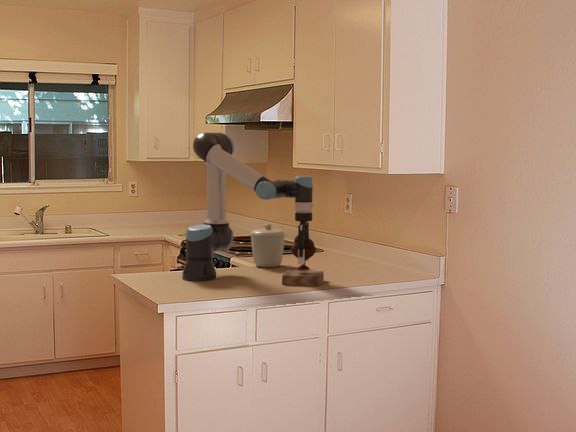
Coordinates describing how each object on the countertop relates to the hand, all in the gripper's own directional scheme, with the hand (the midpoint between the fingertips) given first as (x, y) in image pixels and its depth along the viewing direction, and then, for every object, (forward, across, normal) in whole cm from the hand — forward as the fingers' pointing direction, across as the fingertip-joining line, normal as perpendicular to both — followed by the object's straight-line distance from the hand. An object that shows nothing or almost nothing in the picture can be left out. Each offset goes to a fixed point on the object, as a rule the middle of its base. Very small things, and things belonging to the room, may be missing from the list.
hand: (303, 262), depth 334 cm
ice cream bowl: (+3, 0, 0) cm, 3 cm away
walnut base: (+9, 0, 0) cm, 9 cm away
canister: (+9, +41, +24) cm, 48 cm away
